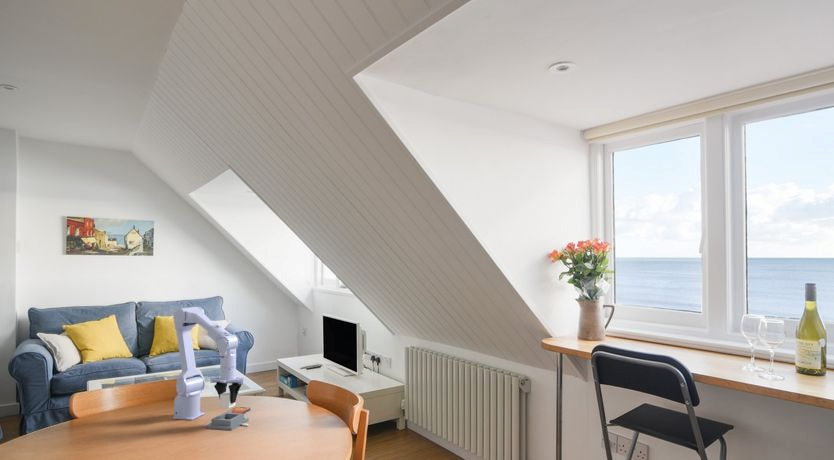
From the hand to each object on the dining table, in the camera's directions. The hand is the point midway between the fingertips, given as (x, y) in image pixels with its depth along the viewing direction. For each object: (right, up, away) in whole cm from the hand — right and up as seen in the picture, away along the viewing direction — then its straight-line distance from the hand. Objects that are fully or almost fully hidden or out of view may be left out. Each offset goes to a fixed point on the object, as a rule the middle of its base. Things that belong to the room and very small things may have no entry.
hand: (227, 402), depth 191 cm
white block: (0, -2, 0) cm, 2 cm away
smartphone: (-2, -10, +11) cm, 15 cm away
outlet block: (+2, -8, -1) cm, 9 cm away
